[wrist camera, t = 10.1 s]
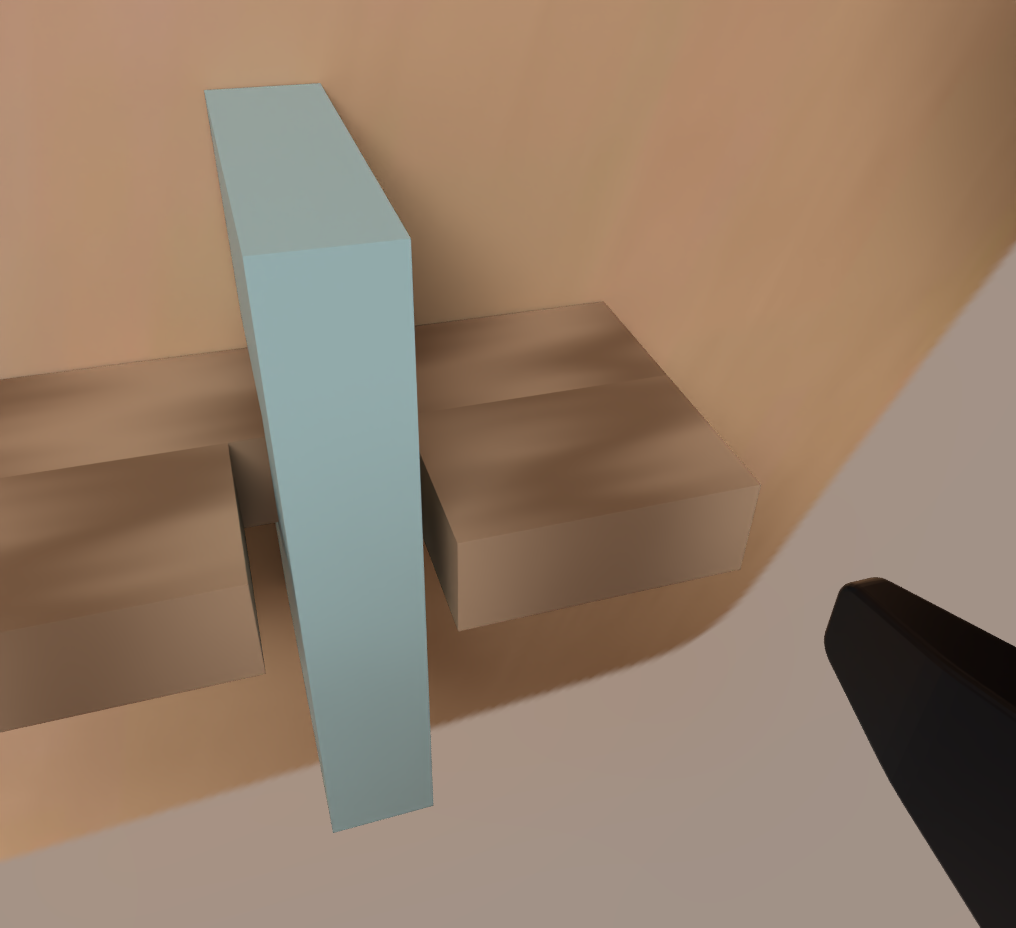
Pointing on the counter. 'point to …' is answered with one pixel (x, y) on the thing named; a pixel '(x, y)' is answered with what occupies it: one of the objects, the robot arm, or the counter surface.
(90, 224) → the counter surface
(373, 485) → the teal slotted plate
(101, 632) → the walnut slotted plate
